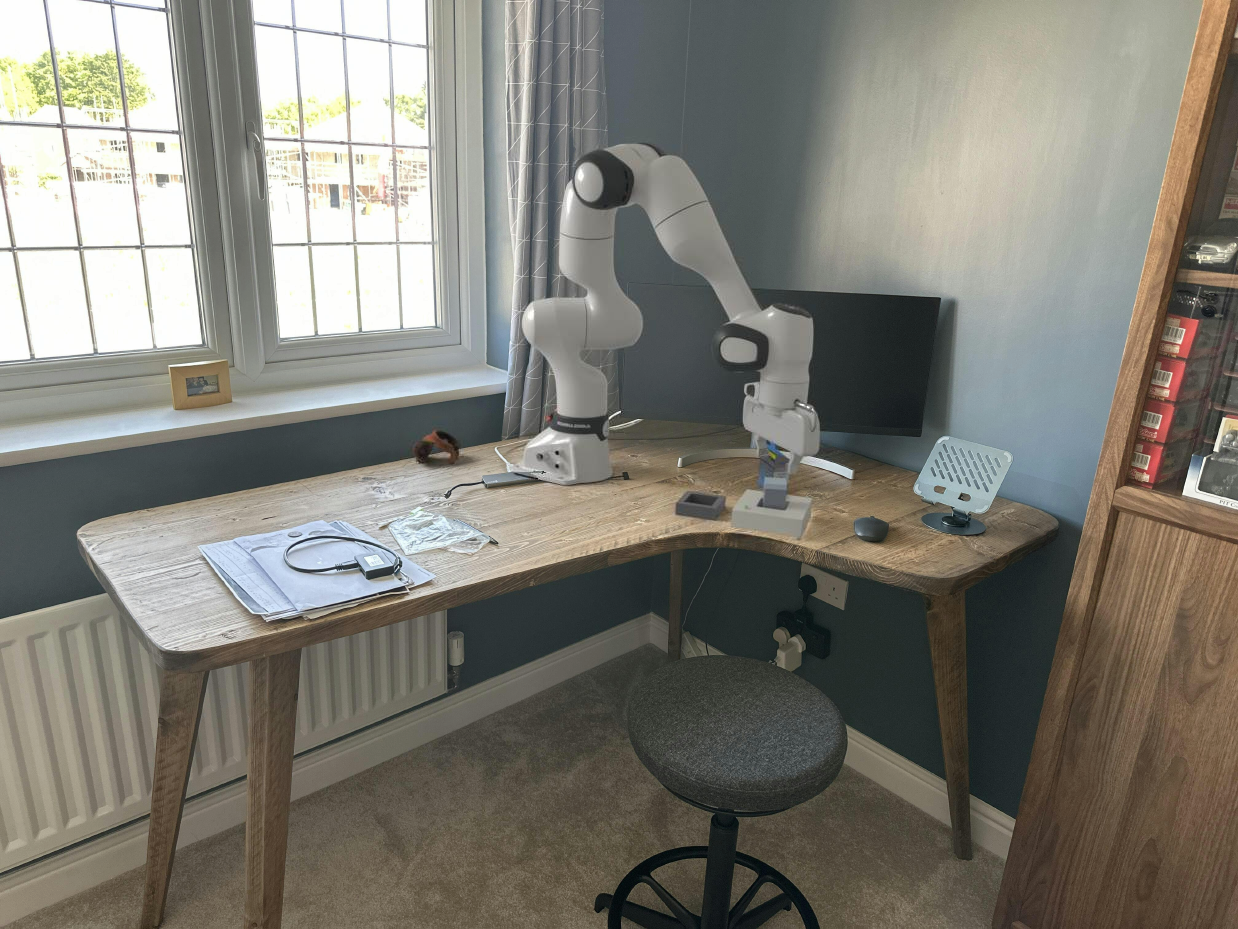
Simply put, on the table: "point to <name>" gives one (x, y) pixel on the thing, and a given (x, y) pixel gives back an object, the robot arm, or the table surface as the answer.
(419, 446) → the orange curved piece
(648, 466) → the table surface
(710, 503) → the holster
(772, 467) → the label tape cartridge
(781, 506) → the plug
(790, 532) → the panel
